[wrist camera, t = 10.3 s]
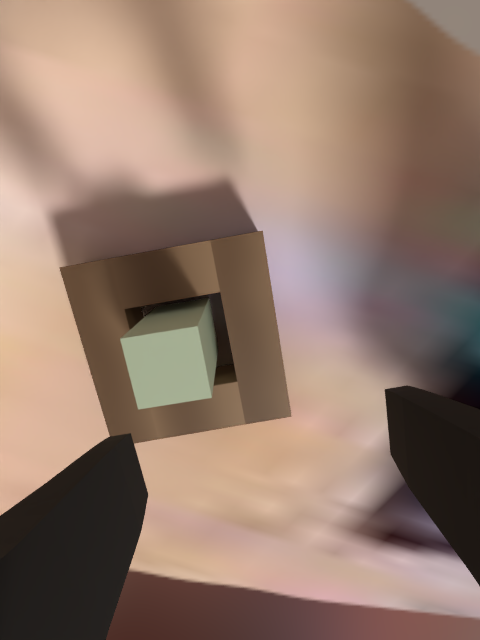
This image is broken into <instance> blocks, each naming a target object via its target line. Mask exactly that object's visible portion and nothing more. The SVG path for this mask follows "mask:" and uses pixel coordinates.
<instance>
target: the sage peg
mask: <svg viewBox="0 0 480 640" xmlns="http://www.w3.org/2000/svg"><path fill="white" fill-rule="evenodd" d="M120 341H121V344H122V348H123V352H124V356H125V360H126V364H127V368H128V372H129V376H130V380H131V383H132V387H133V391H134V395H135V399H136V403H137V407H138V409H145V408H151V407H157V406H164V405H170V404H176V403H182V402H189V401H195V400H201V399H207V398H212V393H213V385H214V378H215V370H216V363H217V355H218V343H217V337H216V332H215V326H214V321H213V316H212V310H211V305H210V300H209V298H204V299H198V300H192V301H186V302H180V303H173V304H167V305H161V306H156V307H155V308H154V309H153V310H152V311H151V312H150V313H149V314H147V315H146V316H145V317H144V318H143V319H142V320H141V321H140V322H138V323H137V324H136V325H135V326H134V327H133V328H132V329H131V330H129V331H128V332H127V333H126V334H125V335H124V336H123V337H121V338H120Z"/></svg>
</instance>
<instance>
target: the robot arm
mask: <svg viewBox="0 0 480 640" xmlns="http://www.w3.org/2000/svg"><path fill="white" fill-rule="evenodd" d="M385 396H386V407H387V419H388V430H389V441H390V452H391V456H392V458H393V459H394V461H395V463H396V465H397V467H398V469H399V471H400V472H401V474H402V476H403V478H404V479H405V481H406V483H407V485H408V487H409V488H410V490H411V491H412V492H413V494H414V495H415V497H416V498H417V499H418V501H419V502H420V504H421V505H422V506H423V508H424V509H425V511H426V512H427V513H428V515H429V516H430V517H431V519H432V520H433V522H434V523H435V524H436V526H437V527H438V528H439V530H440V531H441V533H442V534H443V535H444V537H445V538H446V539H447V541H448V542H449V543H450V545H451V546H452V548H453V549H454V550H455V552H456V553H457V554H458V556H459V557H460V559H461V560H462V561H463V563H464V564H465V565H466V567H467V568H468V570H469V571H470V572H471V574H472V575H473V577H474V578H475V580H476V581H477V583H478V584H479V586H480V409H477V408H475V407H472V406H469V405H466V404H463V403H460V402H457V401H454V400H451V399H448V398H446V397H443V396H440V395H437V394H434V393H431V392H428V391H425V390H422V389H419V388H415V387H411V386H402V387H396V388H390V389H385ZM147 498H148V492H147V489H146V485H145V481H144V478H143V474H142V471H141V467H140V464H139V460H138V457H137V453H136V450H135V446H134V443H133V439H132V436H131V433H128V434H122V435H116V436H110V437H108V438H107V439H105V440H103V441H102V442H100V443H99V444H97V445H96V446H94V447H93V448H92V449H90V450H89V451H88V452H86V453H85V454H84V455H82V456H81V457H80V458H78V459H77V460H76V461H74V462H73V463H72V464H70V465H69V466H68V467H66V468H65V469H64V470H63V471H61V472H60V473H59V474H57V475H56V476H55V477H53V478H52V479H51V480H49V481H48V482H47V483H45V484H44V485H43V486H41V487H40V488H38V489H37V490H36V491H34V492H33V493H32V494H30V495H29V496H27V497H26V498H25V499H23V500H22V501H20V502H19V503H18V504H16V505H15V506H13V507H12V508H11V509H9V510H8V511H6V512H5V513H4V514H2V515H1V516H0V640H106V637H107V634H108V630H109V627H110V624H111V621H112V618H113V615H114V612H115V609H116V606H117V603H118V600H119V597H120V594H121V591H122V588H123V585H124V582H125V579H126V576H127V573H128V570H129V567H130V564H131V561H132V558H133V555H134V552H135V549H136V546H137V543H138V539H139V536H140V533H141V529H142V524H143V520H144V515H145V509H146V504H147Z"/></svg>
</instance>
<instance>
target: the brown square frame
mask: <svg viewBox="0 0 480 640" xmlns="http://www.w3.org/2000/svg"><path fill="white" fill-rule="evenodd" d="M60 271H61V274H62V278H63V281H64V284H65V288H66V291H67V294H68V298H69V301H70V304H71V308H72V311H73V314H74V318H75V321H76V324H77V328H78V331H79V334H80V338H81V341H82V345H83V348H84V351H85V355H86V358H87V361H88V365H89V368H90V371H91V375H92V378H93V381H94V385H95V388H96V391H97V395H98V398H99V401H100V405H101V408H102V411H103V415H104V418H105V421H106V425H107V428H108V431H109V435H110V436H116V435H122V434H128V433H131V436H132V439H133V443H139V442H145V441H151V440H157V439H163V438H168V437H174V436H180V435H186V434H192V433H198V432H204V431H209V430H215V429H221V428H227V427H233V426H239V425H244V424H250V423H256V422H262V421H268V420H274V419H280V418H285V417H291V410H290V404H289V397H288V391H287V384H286V378H285V372H284V365H283V359H282V352H281V346H280V339H279V333H278V327H277V320H276V314H275V307H274V301H273V295H272V288H271V282H270V275H269V269H268V263H267V256H266V250H265V243H264V237H263V231H258V232H252V233H247V234H241V235H236V236H230V237H225V238H219V239H214V240H209V241H203V242H198V243H192V244H187V245H181V246H176V247H170V248H165V249H159V250H154V251H148V252H143V253H137V254H132V255H126V256H121V257H115V258H110V259H104V260H99V261H93V262H88V263H82V264H77V265H71V266H66V267H60ZM218 292H220V294H221V299H222V304H223V309H224V315H225V320H226V325H227V330H228V335H229V341H230V346H231V351H232V356H233V361H234V364H229V365H224V366H218V367H216V370H215V378H214V385H213V393H212V398H207V399H201V400H195V401H189V402H182V403H176V404H170V405H164V406H157V407H151V408H145V409H138V407H137V403H136V399H135V395H134V391H133V387H132V383H131V380H130V376H129V372H128V368H127V364H126V360H125V356H124V352H123V348H122V344H121V341H120V338H121V337H123V336H124V335H125V334H126V333H127V332H128V331H129V330H131V329H132V328H133V327H134V326H135V325H136V324H137V323H138V322H140V321H141V320H142V319H143V318H144V317H143V313H142V309H141V306H145V305H150V304H156V303H162V302H167V301H173V300H178V299H184V298H190V297H195V296H201V295H206V294H212V293H218Z"/></svg>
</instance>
